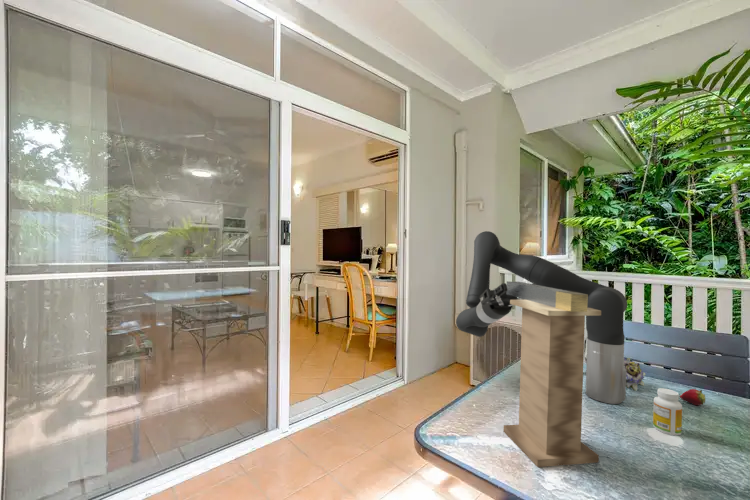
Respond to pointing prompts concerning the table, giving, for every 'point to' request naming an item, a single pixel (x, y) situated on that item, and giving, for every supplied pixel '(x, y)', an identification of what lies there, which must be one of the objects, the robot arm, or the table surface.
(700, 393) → the fruit
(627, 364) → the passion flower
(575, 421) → the walnut stand
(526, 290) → the steel block
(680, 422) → the supplement bottle
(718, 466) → the table surface
